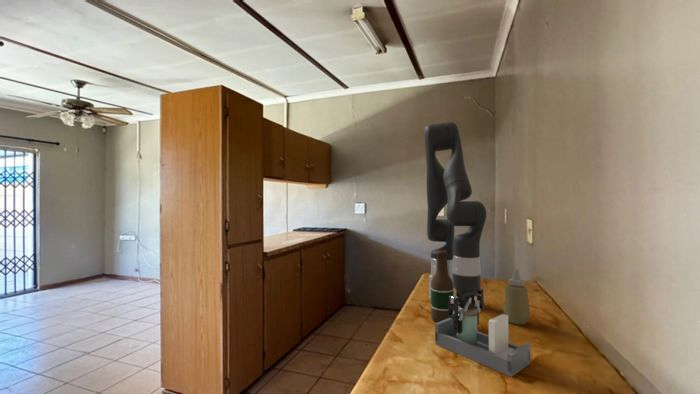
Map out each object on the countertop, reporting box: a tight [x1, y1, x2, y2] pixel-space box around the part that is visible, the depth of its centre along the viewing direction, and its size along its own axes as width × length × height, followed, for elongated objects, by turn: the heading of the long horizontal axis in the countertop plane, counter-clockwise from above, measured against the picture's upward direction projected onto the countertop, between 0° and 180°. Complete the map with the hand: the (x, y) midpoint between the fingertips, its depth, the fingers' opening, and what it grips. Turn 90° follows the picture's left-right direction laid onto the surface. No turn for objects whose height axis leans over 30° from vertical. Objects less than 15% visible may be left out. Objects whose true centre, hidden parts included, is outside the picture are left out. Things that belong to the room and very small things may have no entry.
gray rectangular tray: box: [434, 318, 531, 378], centre depth 89 cm, size 22×10×6 cm, turn 38°
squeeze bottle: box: [503, 268, 531, 326], centre depth 111 cm, size 8×8×18 cm
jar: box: [456, 306, 478, 346], centre depth 92 cm, size 6×6×10 cm
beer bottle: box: [430, 250, 455, 323], centre depth 113 cm, size 8×8×24 cm
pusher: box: [488, 313, 515, 358], centre depth 84 cm, size 4×7×10 cm, turn 128°
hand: (466, 328), depth 92 cm, fingers open, 8 cm apart
